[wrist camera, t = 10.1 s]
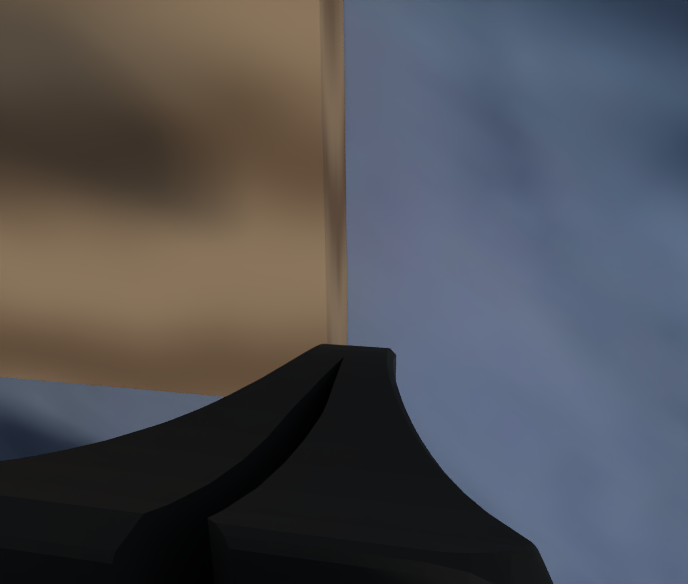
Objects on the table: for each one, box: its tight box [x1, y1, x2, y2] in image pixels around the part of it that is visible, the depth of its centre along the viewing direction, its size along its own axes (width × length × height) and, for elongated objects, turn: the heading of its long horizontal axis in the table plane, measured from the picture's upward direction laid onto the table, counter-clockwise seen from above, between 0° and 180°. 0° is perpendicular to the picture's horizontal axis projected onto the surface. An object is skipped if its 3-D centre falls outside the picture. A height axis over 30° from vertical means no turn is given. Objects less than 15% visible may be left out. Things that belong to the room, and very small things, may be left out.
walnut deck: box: [0, 0, 347, 397], centre depth 19 cm, size 14×14×3 cm
